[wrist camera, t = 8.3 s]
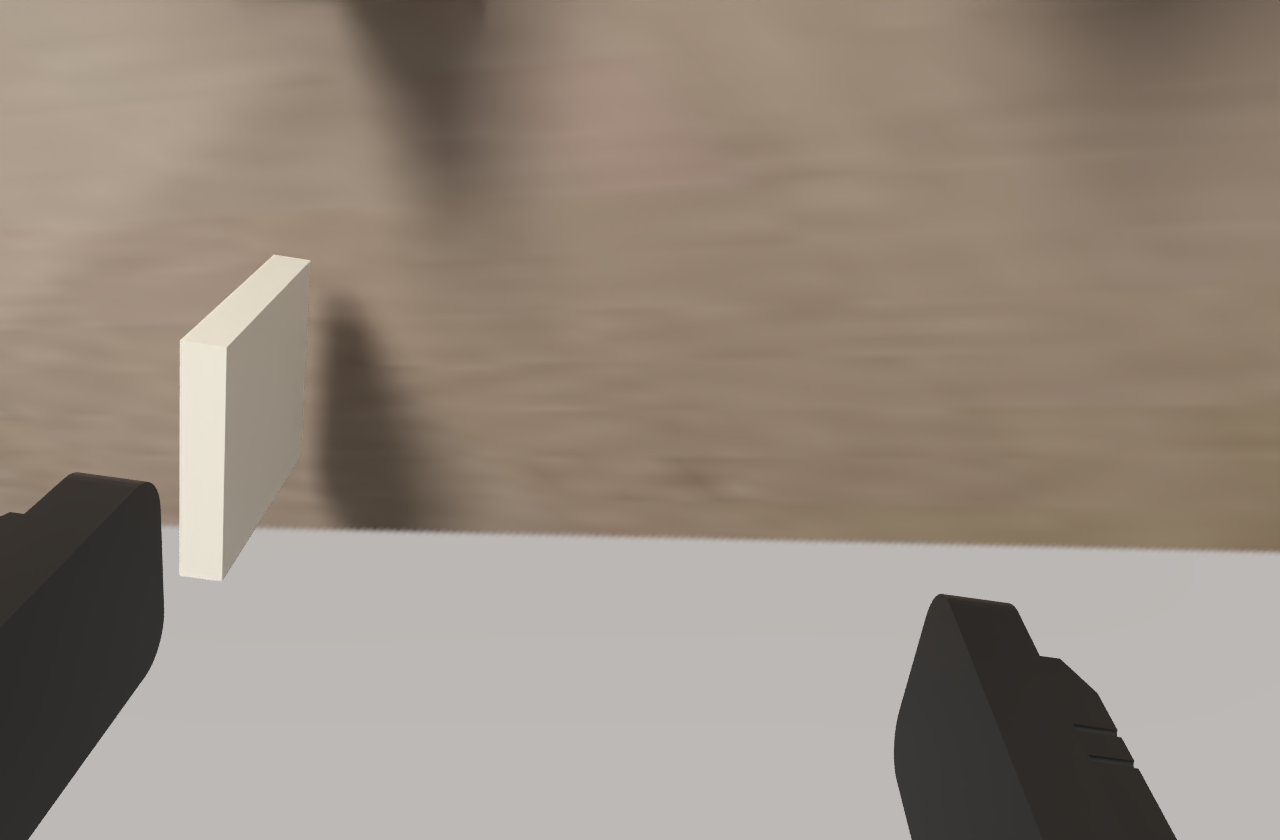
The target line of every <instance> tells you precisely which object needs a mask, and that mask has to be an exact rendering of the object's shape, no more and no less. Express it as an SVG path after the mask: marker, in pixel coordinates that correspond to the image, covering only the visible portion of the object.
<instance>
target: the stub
mask: <svg viewBox="0 0 1280 840" xmlns="http://www.w3.org/2000/svg"><path fill="white" fill-rule="evenodd" d="M310 266H311V260H305V259H299V258H292V257H286V256H279V255H273V256H272V257H271V258H270V259H269V260H268V261H267V262H265V263H264V264H263V265H262V266H261V267H260V268H259V269H258V270H257V271H256V272H254V273H253V274H252V275H251V276H250V277H249V278H248V279H247V280H246V281H245V282H244V283H242V284H241V285H240V286H239V287H238V288H237V289H236V290H235V291H234V292H233V293H231V294H230V295H229V296H228V297H227V298H226V299H225V300H224V301H223V302H222V303H221V304H219V305H218V306H217V307H216V308H215V309H214V310H213V311H212V312H211V313H210V314H208V315H207V316H206V317H205V318H204V319H203V320H202V321H201V322H200V323H199V324H198V325H196V326H195V327H194V328H193V329H192V330H191V331H190V332H189V333H188V334H187V335H185V336H184V337H183V338H182V339H181V340H180V567H179V571H180V572H179V574H180V576H186V577H193V578H201V579H208V580H215V581H223V579H224V577H225V576H226V574H227V573H228V571H229V569H230V568H231V566H232V564H233V563H234V562H235V560H236V558H237V557H238V555H239V554H240V552H241V550H242V549H243V547H244V545H245V544H246V542H247V541H248V539H249V537H250V536H251V535H252V533H253V531H254V530H255V528H256V527H257V525H258V523H259V522H260V520H261V519H262V517H263V515H264V514H265V512H266V511H267V509H268V508H269V506H270V504H271V503H272V501H273V500H274V498H275V496H276V495H277V493H278V492H279V490H280V488H281V487H282V485H283V484H284V482H285V481H286V479H287V477H288V476H289V474H290V473H291V471H292V469H293V468H294V466H295V465H296V463H297V461H298V460H299V458H300V457H301V448H302V427H303V407H304V387H305V367H306V347H307V327H308V306H309V286H310Z"/></svg>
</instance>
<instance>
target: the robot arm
mask: <svg viewBox="0 0 1280 840" xmlns="http://www.w3.org/2000/svg"><path fill="white" fill-rule="evenodd" d="M163 621H164V596H163V565H162V538H161V508H160V499H159V495H158V492H157V489H156V488H155V486H154V485H153V484H152V483H149V482H144V481H137V480H130V479H122V478H115V477H108V476H101V475H94V474H86V473H79V472H76V473H72V474H70V475H68V476H67V477H66V478H64V479H63V480H62V481H61V482H60V483H59V484H58V485H56V486H55V487H54V488H53V489H52V490H51V491H50V492H49V493H47V494H46V495H45V496H44V497H43V498H42V499H41V500H40V501H38V502H37V503H36V504H35V505H34V506H33V507H32V508H31V509H29V510H28V511H27V512H26V513H25V514H20V513H12V512H10V513H7V514H5V515H3V516H0V840H28V839H29V837H30V836H31V835H32V833H33V832H34V830H35V829H36V828H37V826H38V825H39V824H40V822H41V820H42V819H43V818H44V816H45V815H46V814H47V812H48V811H49V810H50V808H51V807H52V805H53V804H54V803H55V801H56V800H57V798H58V797H59V796H60V794H61V793H62V791H63V790H64V789H65V787H66V786H67V785H68V783H69V782H70V780H71V779H72V778H73V776H74V775H75V773H76V772H77V771H78V769H79V768H80V766H81V765H82V763H83V762H84V761H85V759H86V758H87V757H88V755H89V754H90V752H91V751H92V749H93V748H94V747H95V746H96V744H97V742H98V741H99V740H100V739H101V737H102V736H103V734H104V733H105V731H106V730H107V729H108V727H109V726H110V725H111V723H112V722H113V720H114V719H115V718H116V716H117V715H118V713H119V712H120V710H121V709H122V708H123V706H124V705H125V704H126V702H127V701H128V700H129V698H130V697H131V695H132V694H133V693H134V691H135V690H136V688H137V687H138V686H139V684H140V683H141V681H142V680H143V679H144V677H145V676H146V674H147V673H148V671H149V669H150V667H151V665H152V663H153V661H154V658H155V656H156V653H157V650H158V647H159V643H160V639H161V635H162V629H163ZM1133 763H1134V760H1133V758H1132V756H1131V754H1130V752H1129V751H1128V749H1127V747H1126V745H1125V743H1124V741H1123V740H1122V738H1121V737H1117V728H1116V727H1115V725H1114V723H1113V721H1112V719H1111V717H1110V716H1109V714H1108V712H1107V710H1106V708H1105V707H1104V705H1103V703H1102V701H1101V699H1100V697H1099V695H1098V694H1097V693H1096V692H1095V691H1094V690H1093V689H1092V688H1091V687H1090V686H1089V685H1088V684H1087V683H1085V681H1084V680H1082V679H1081V678H1080V677H1079V676H1078V675H1077V674H1076V673H1075V672H1074V671H1073V670H1071V668H1069V667H1068V666H1067V665H1066V664H1065V663H1064V662H1063V661H1062V660H1061V659H1057V658H1050V657H1043V656H1039V654H1038V652H1037V650H1036V647H1035V645H1034V643H1033V641H1032V639H1031V637H1030V635H1029V633H1028V631H1027V629H1026V627H1025V625H1024V623H1023V621H1022V619H1021V617H1020V615H1019V613H1018V611H1017V609H1016V608H1015V607H1014V606H1013V605H1012V604H1010V603H1003V602H995V601H988V600H981V599H974V598H967V597H960V596H952V595H944V594H939V595H938V596H936V597H935V598H934V599H933V601H932V603H931V605H930V607H929V610H928V613H927V616H926V619H925V623H924V626H923V630H922V633H921V637H920V640H919V644H918V647H917V651H916V654H915V658H914V661H913V665H912V669H911V672H910V675H909V679H908V683H907V686H906V689H905V693H904V697H903V700H902V703H901V707H900V710H899V715H898V719H897V724H896V731H895V741H894V765H895V774H896V779H897V783H898V787H899V791H900V795H901V798H902V803H903V807H904V811H905V815H906V818H907V823H908V826H909V830H910V834H911V838H912V840H1177V839H1176V837H1175V835H1174V834H1173V832H1172V830H1171V828H1170V826H1169V824H1168V823H1167V821H1166V819H1165V817H1164V815H1163V813H1162V811H1161V809H1160V808H1159V806H1158V804H1157V802H1156V800H1155V798H1154V797H1153V795H1152V793H1151V791H1150V789H1149V787H1148V786H1147V784H1146V782H1145V780H1144V778H1143V776H1142V774H1141V773H1140V771H1139V769H1136V768H1134V766H1133Z"/></svg>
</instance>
